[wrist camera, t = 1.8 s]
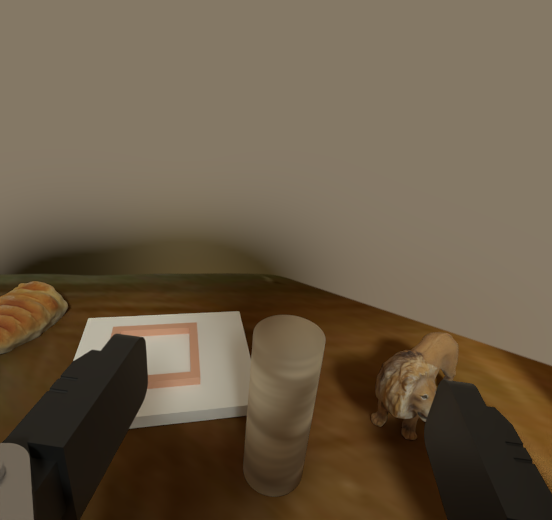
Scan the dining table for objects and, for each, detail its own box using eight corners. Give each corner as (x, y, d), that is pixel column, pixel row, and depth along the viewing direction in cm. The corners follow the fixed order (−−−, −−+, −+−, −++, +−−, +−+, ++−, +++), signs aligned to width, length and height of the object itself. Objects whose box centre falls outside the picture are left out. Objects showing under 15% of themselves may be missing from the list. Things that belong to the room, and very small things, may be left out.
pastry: (17, 365, 36) (8, 332, 34) (-53, 356, 36) (-65, 322, 35) (73, 310, 45) (68, 281, 43) (17, 304, 45) (10, 274, 43)
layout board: (238, 319, 45) (239, 305, 44) (260, 414, 33) (262, 396, 32) (89, 327, 42) (87, 312, 41) (52, 437, 29) (48, 418, 29)
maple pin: (293, 438, 31) (313, 313, 26) (309, 491, 27) (335, 356, 22) (239, 445, 30) (247, 316, 25) (247, 501, 26) (260, 362, 21)
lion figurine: (416, 486, 28) (450, 394, 25) (349, 447, 31) (371, 358, 27) (457, 377, 40) (485, 302, 36) (405, 355, 42) (427, 282, 38)
